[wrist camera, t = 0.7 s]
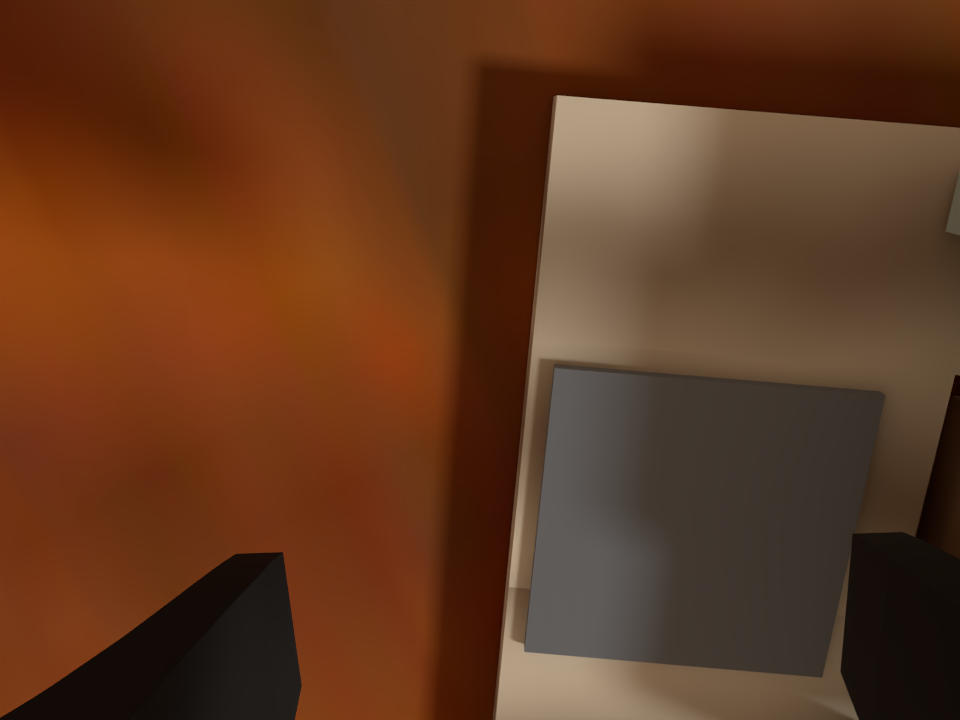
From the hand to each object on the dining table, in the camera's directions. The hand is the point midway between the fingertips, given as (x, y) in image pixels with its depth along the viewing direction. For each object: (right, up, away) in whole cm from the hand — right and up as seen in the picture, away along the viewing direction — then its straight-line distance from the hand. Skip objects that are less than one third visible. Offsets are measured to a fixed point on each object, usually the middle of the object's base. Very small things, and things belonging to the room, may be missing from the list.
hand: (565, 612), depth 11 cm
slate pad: (+4, -1, +9) cm, 9 cm away
